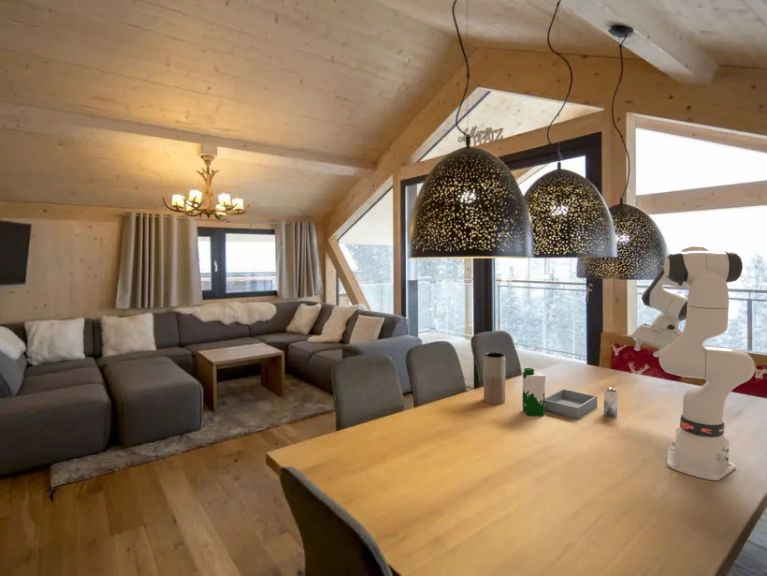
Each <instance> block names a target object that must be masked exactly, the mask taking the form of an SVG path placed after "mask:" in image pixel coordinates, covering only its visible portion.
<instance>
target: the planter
mask: <svg viewBox="0 0 767 576" xmlns="http://www.w3.org/2000/svg"><path fill="white" fill-rule="evenodd" d="M506 362H507V361H506V354H505V353H502V352H501V353H500V352H486V353H484V354H483V401H484V402H485V403H487V404H490V405H502V404H504V403H505V402H506Z"/></svg>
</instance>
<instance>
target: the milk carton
mask: <svg viewBox="0 0 767 576" xmlns="http://www.w3.org/2000/svg"><path fill="white" fill-rule="evenodd" d="M545 395H546V375H545V374H544V373H542V372H541V371H535V369H534V368H531V367H524V370H523V371H522V411H523V412H524V414H525V415H526V416H527V417H544V416H545V411H544V405H545V398H546V396H545Z"/></svg>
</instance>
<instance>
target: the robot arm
mask: <svg viewBox="0 0 767 576" xmlns="http://www.w3.org/2000/svg"><path fill="white" fill-rule="evenodd" d="M743 265H744V264H743V261H742V258H741V256H740V255H738V254H737V253H735V252H731V251H723V252H722V251H709V250H708V248H706V247H704V246H702V245H699V244H696V245H694V244H692V245H688V246H685V247H684V248H683V249H682V250H681V251H677V252H672V253H669V254H668V255H667V256H666V258H665V261H664V264H663V268H662V269H661V270H660V271H659V273H658V274H657V275H656V277H654V279H653V281H652V282H651V284H650V285H649V286H648V287H647V288H645V290H644V291H643V293H642V295H641V301H642V302H643V305H644V306H647V307H649V308H651V309H652V308H653V309H655V310H657V311H659V312H660V313H659V314H658V315H657V316H656V317H655V318H654V320H653V321H652V322H651V324H650V323H643V324H640V325H639V326H637V328H636V329H635V330H634V331H633V333H632V334H631V338H632V339H633V340H634V341H635V346H634V348H633V349H634V350H635V351H637V352H640V351H641V345H642V344H645V345H648V346H651V347H655V348H658V350H657V351H656V350H655V351H653V353H652V355H653V356H654V357H655V358H658V362H659V365H660V367H661V369H663V371H664V372H665V373H668V374H671V375H674V376H678V377H683V378H691V379H699V380H705V381H706V382H705V383H704V384H703V385H701V386H700V385H699V386H698V387H694V388H690V389H688V390H687V391H686V392H685V393H684V394H683V396H682V413H681V415H680V419H679V423H680V424H679V427H677V428H676V429H675V441H673V442H672V446H670V447H667V453H666V467H668V468H669V469H672V470H674V471H676V472H677V471H678V472H680V473H683V474H686V475H690V476H691V477H692V476H693V477H697V478H700V479H704V480H708V481H709V480H710V481H719V480H721V479H723V478H724V477H726V476H727V475H729V474H730V473H732V472H733V471H734V470H736V468H737V467H736V464H734V463H733V462H731V461H730V441H729V440H728V439H727V438H726V437H725V435H724V434H725V422H724V419H723V418H724V410H725V406H726V405H725V404H726V400H727V398H728V396H729V394H730V393H731V392H732V391H733V390H734V389H735V388H736V387H739V386H741V385H742V384H744V383H747V382H748V381H750V380H751V379H752V377H754V375H755V372H756V363H755V361H754V360H753V359H754V358H752V356H751V355H750V354H749V353H747V352H745V351H742V350H741V351H740V350H737V349H732V348H727V347H725V348H724V347H716V346H715V347H714V346H713V347H712V346H705V345H703V344H704V343H705V342H706V341H707V340H709V339H712V338H715V337H719V336H721V335H723V334H724V333H725V332H726V331H727V330H728V326H729V325H728V324H729V307H730V305H729V304H730V301H729V300H730V299H729V297H730V295H729V287H728V284H727V283H732V282H736V281H737V280H738V279H740V277H741V276H742V272H743V267H744V266H743ZM663 286H670V287H674V288H678V289H682V290H688V293H687V296H686V295H684V294H682V293H681V294H679V293H676V292H675V291H672V290H669V289H667V288H666V287H663ZM683 321H685V324H684V326H683V327H684V328H683V330H680V328H679V325H680V323H681V322H683Z"/></svg>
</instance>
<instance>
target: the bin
mask: <svg viewBox="0 0 767 576" xmlns="http://www.w3.org/2000/svg"><path fill="white" fill-rule="evenodd" d="M597 407H598V396H597V395H593V394H588V393H583V392H580V391H573V390H570V389H564V388H562V389H560V390H558V391H556V392H554V393H552V394H550V395H549V396H545V405H544V412H546V413H551V414H554V415H558V416H562V417H566V418H570V419H574V420H579V419H581V418H582V417H585V416H586V415H587V414H589V413H590V412H591V411H593V410H595V409H596V408H597Z"/></svg>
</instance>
